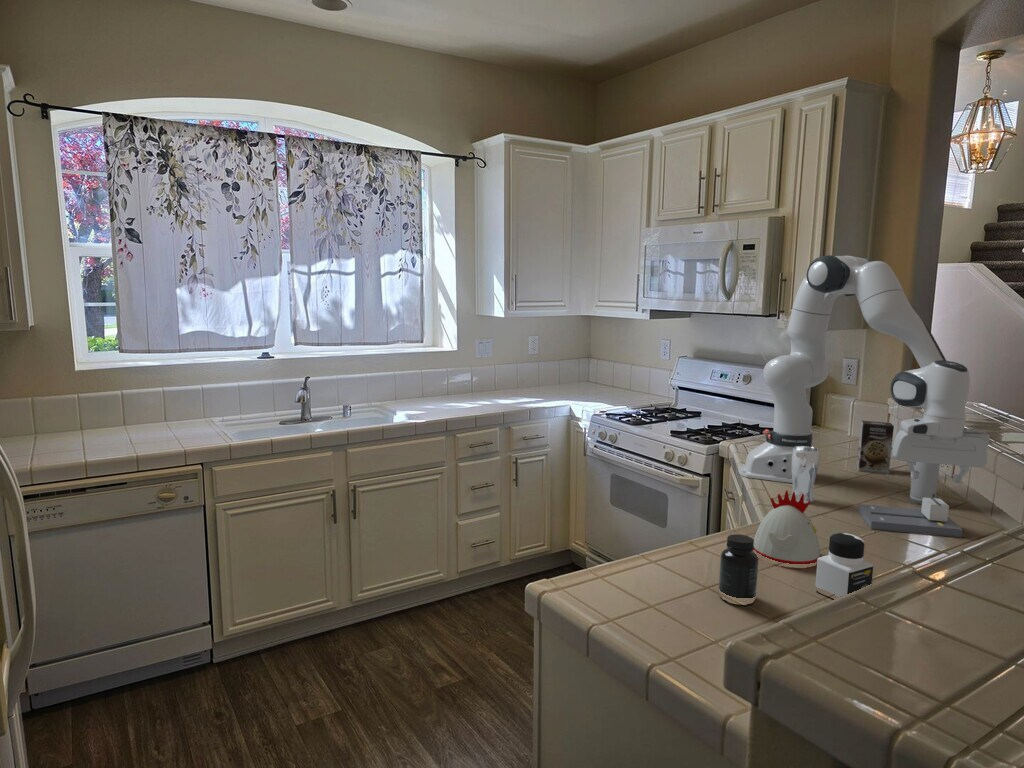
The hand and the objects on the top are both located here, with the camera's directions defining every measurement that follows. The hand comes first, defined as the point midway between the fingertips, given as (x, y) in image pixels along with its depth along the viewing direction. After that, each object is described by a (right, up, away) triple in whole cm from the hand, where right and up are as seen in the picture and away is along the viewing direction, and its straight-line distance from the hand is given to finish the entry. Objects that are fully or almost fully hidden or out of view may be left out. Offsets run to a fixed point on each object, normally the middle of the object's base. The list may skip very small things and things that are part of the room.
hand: (935, 480), depth 168 cm
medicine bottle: (-42, -17, -38) cm, 59 cm away
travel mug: (+9, -9, +21) cm, 24 cm away
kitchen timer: (-45, -14, -19) cm, 51 cm away
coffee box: (+13, -5, +53) cm, 55 cm away
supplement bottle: (-63, -17, -39) cm, 77 cm away
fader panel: (-6, -12, +3) cm, 13 cm away
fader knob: (0, -9, +1) cm, 9 cm away
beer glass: (-24, -9, +21) cm, 34 cm away
